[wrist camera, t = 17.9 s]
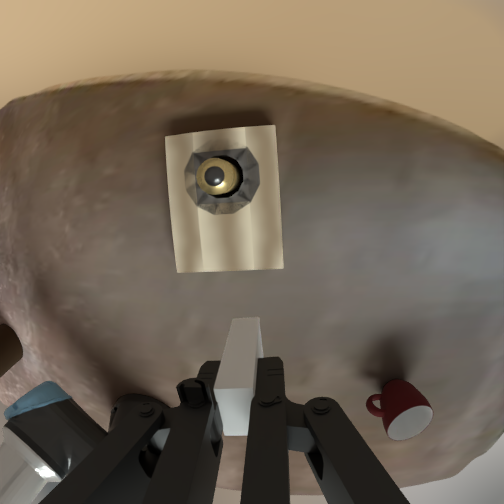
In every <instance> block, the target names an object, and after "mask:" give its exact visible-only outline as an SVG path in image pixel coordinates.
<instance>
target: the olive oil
mask: <svg viewBox="0 0 504 504" xmlns="http://www.w3.org/2000/svg"><path fill="white" fill-rule="evenodd" d="M22 356H23V350H22V346H21V343H20V341H19V339H18V337H17V335H16V334H15V333H14V331H13V330H12V329H11V328H10V327H9V326H7V325H5V324H1V325H0V377H2V376H3V375H4V374H5V373H6V372H7V371H8V370H9V369H10V368H11V367H12V366H13V365H15V364H16V363H17V362H18V361H19V360H20V359H21V358H22Z"/></svg>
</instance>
